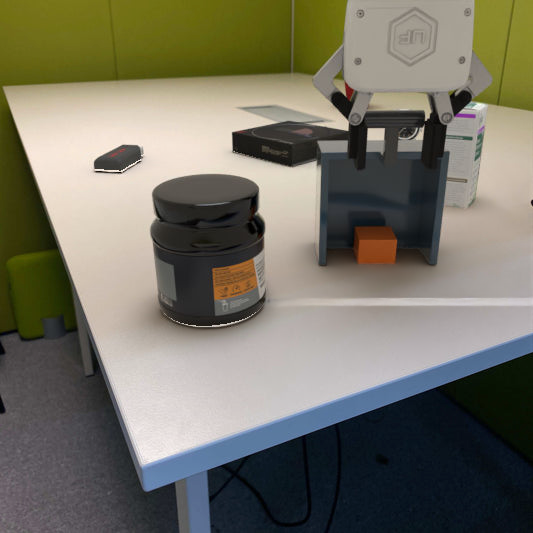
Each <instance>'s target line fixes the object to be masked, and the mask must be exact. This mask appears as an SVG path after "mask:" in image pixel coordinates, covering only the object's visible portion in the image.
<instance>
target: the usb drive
mask: <svg viewBox="0 0 533 533" xmlns="http://www.w3.org/2000/svg"><path fill="white" fill-rule="evenodd" d="M143 154H144V155H145V152H144V146H141V145H140V146H139V145H138V144H121V145H119V146H117V147H115V148H113V149H112V150H109V151H108V152H105V153H104V154H101V155H100V156H98V157H97V158H95V159H94V161H93V170H94V169H104V170H119V171H121V170H123V169H125V168H126V167H128V166H129V165H131V164H133V163H135V162H136V161H138V160H140V159H142V157H141V155H143Z"/></svg>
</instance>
